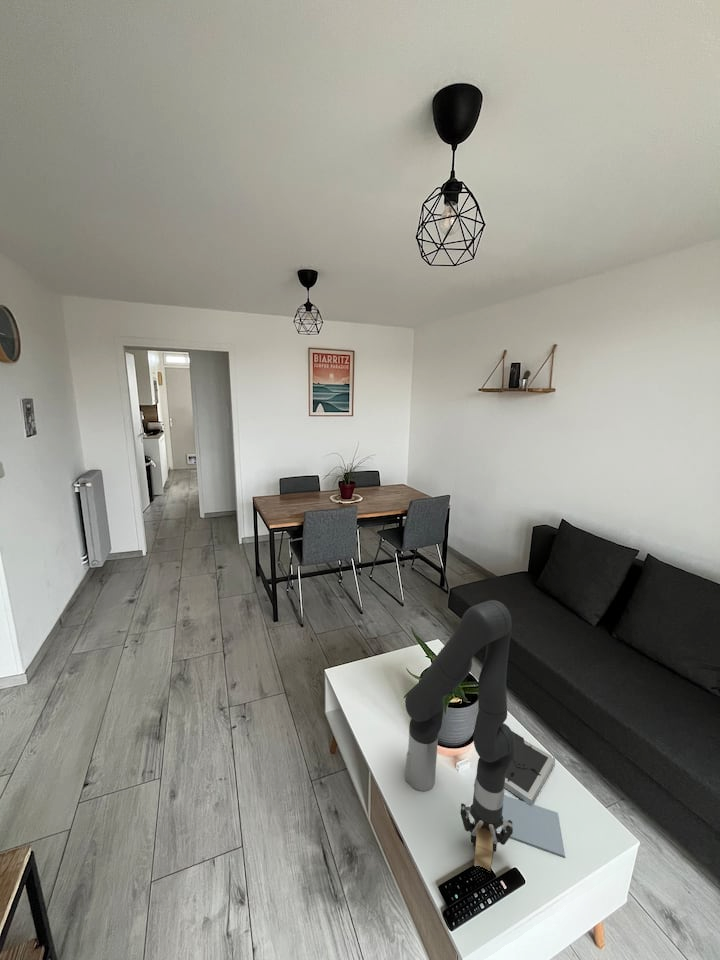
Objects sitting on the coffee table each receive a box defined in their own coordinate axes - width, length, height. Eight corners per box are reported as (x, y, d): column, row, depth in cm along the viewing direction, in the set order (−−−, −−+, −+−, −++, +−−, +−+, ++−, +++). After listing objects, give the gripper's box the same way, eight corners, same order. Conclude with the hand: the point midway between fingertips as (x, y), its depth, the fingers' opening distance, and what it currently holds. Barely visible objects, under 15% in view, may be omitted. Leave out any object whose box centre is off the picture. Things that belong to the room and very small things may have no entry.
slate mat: (502, 835, 106) (502, 833, 106) (501, 795, 117) (501, 794, 117) (564, 857, 101) (565, 856, 101) (557, 814, 112) (557, 812, 112)
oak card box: (474, 865, 98) (476, 844, 97) (475, 827, 108) (477, 807, 106) (490, 872, 97) (492, 850, 96) (490, 832, 106) (492, 812, 105)
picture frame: (509, 736, 139) (483, 772, 125) (510, 729, 139) (483, 765, 125) (554, 763, 128) (531, 805, 114) (555, 756, 128) (531, 797, 113)
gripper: (460, 798, 98) (455, 850, 101) (518, 818, 93) (511, 873, 96) (462, 772, 105) (457, 822, 108) (516, 790, 100) (510, 842, 103)
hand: (483, 846), depth 102 cm, fingers closed on oak card box, 4 cm apart
